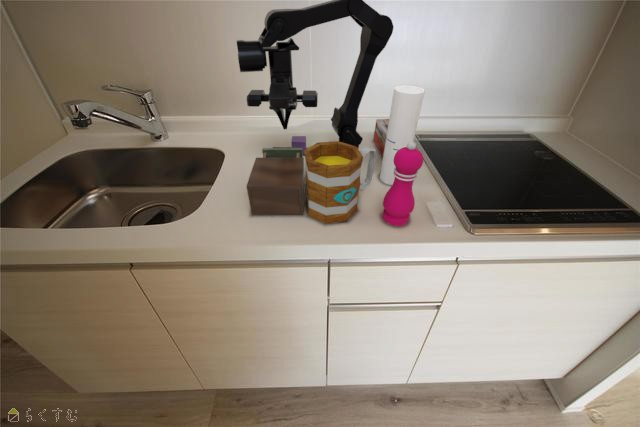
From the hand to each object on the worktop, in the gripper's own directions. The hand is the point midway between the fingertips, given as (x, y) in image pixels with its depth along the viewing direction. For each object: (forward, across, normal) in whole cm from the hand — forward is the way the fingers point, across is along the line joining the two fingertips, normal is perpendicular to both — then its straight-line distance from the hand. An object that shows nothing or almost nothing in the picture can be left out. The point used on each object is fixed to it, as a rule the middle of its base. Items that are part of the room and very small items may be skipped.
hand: (285, 128), depth 83 cm
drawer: (+11, 0, -8) cm, 13 cm away
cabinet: (+12, 0, -19) cm, 22 cm away
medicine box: (+8, +34, +11) cm, 37 cm away
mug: (+12, +16, -20) cm, 28 cm away
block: (+12, +3, +9) cm, 15 cm away
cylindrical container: (+12, +32, -8) cm, 34 cm away
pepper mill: (+12, +29, -26) cm, 41 cm away
